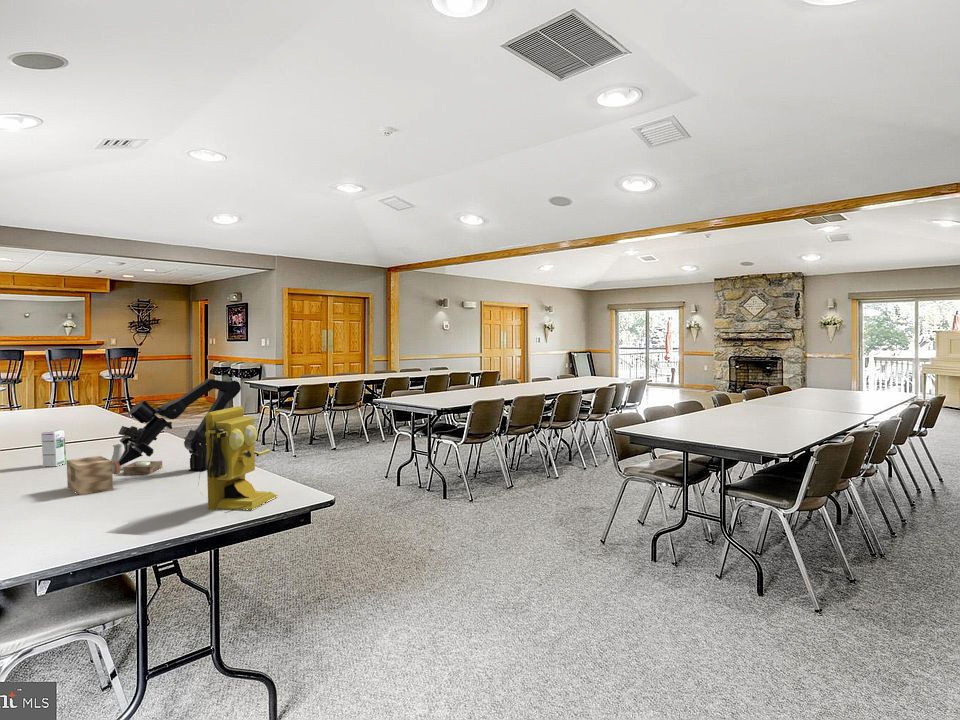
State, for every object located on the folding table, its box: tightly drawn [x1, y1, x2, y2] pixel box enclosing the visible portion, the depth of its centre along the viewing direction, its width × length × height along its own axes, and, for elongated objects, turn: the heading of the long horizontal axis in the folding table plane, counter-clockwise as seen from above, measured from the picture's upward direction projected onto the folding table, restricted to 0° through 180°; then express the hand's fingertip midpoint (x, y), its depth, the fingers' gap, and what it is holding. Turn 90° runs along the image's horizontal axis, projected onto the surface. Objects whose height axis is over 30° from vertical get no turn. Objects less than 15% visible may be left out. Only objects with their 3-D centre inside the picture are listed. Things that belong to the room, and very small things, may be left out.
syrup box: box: [40, 429, 67, 468], centre depth 241 cm, size 6×6×14 cm
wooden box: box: [66, 455, 114, 496], centre depth 203 cm, size 10×14×10 cm
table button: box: [136, 462, 150, 466], centre depth 229 cm, size 5×5×3 cm
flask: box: [110, 443, 129, 471], centre depth 233 cm, size 7×7×10 cm
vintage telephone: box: [198, 405, 279, 514], centre depth 183 cm, size 31×14×30 cm, turn 170°
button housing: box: [122, 460, 163, 475], centre depth 229 cm, size 10×10×3 cm
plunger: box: [112, 461, 121, 475], centre depth 207 cm, size 8×5×5 cm, turn 139°
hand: (118, 465), depth 210 cm, fingers closed, pressing on plunger
